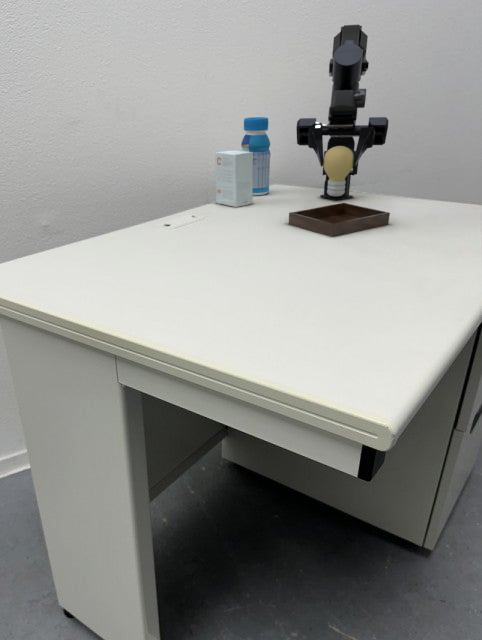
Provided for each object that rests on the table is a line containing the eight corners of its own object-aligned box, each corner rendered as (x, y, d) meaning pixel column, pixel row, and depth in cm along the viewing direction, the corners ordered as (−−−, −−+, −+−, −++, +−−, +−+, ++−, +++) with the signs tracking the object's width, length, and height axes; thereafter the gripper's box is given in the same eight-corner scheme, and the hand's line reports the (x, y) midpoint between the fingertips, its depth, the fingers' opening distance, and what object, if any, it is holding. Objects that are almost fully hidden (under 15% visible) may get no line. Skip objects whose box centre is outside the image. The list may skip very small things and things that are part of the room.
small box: (252, 203, 146) (253, 151, 140) (235, 207, 143) (235, 154, 137) (232, 199, 152) (232, 149, 146) (215, 203, 148) (214, 152, 142)
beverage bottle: (261, 197, 154) (262, 119, 144) (235, 194, 158) (235, 118, 149) (274, 191, 160) (276, 116, 151) (249, 189, 164) (249, 116, 155)
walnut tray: (342, 213, 133) (343, 202, 132) (388, 224, 123) (390, 212, 121) (288, 224, 126) (288, 212, 124) (332, 236, 115) (333, 224, 114)
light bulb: (314, 196, 119) (318, 146, 114) (331, 191, 123) (335, 143, 118) (340, 199, 115) (344, 148, 110) (356, 194, 119) (361, 145, 114)
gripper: (299, 75, 113) (291, 139, 109) (394, 72, 109) (389, 138, 105) (300, 114, 123) (293, 174, 119) (387, 113, 119) (382, 174, 115)
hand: (337, 165), depth 114 cm, fingers closed on light bulb, 6 cm apart
